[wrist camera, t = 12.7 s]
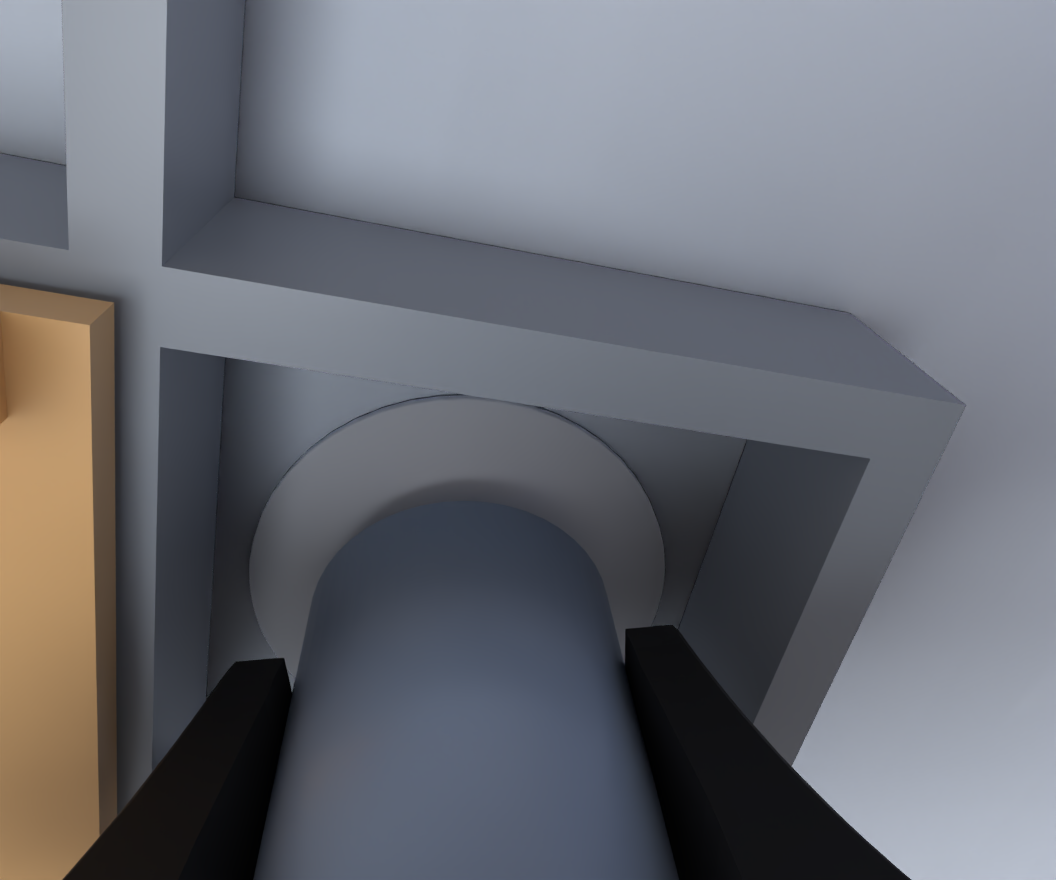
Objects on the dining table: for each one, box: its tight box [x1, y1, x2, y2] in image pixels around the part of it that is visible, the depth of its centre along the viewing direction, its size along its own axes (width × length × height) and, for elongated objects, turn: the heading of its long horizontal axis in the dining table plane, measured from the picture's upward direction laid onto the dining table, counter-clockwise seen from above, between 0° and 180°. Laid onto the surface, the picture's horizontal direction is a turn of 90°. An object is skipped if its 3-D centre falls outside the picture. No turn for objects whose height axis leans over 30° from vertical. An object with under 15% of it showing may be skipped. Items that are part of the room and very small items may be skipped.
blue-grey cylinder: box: [253, 501, 679, 880], centre depth 10 cm, size 4×4×6 cm
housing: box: [0, 0, 966, 816], centre depth 10 cm, size 17×17×3 cm
